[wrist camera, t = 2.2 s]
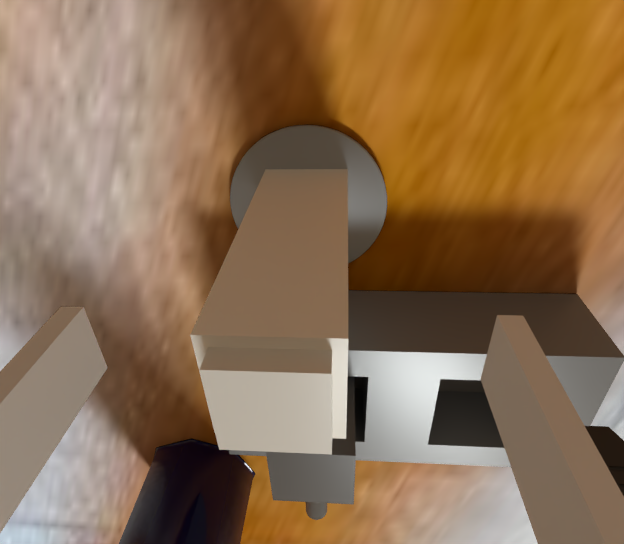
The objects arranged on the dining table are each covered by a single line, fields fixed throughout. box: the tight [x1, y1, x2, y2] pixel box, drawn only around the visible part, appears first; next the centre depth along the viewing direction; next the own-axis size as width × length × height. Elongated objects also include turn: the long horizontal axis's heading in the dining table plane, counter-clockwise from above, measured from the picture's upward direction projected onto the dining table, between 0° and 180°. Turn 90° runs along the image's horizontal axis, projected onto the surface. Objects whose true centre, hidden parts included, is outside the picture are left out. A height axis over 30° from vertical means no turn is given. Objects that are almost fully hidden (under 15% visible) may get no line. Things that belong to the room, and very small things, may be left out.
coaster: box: [230, 125, 387, 263], centre depth 22 cm, size 8×8×1 cm
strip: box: [229, 290, 624, 520], centre depth 24 cm, size 10×20×9 cm, turn 92°
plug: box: [191, 169, 348, 455], centre depth 16 cm, size 4×4×13 cm
